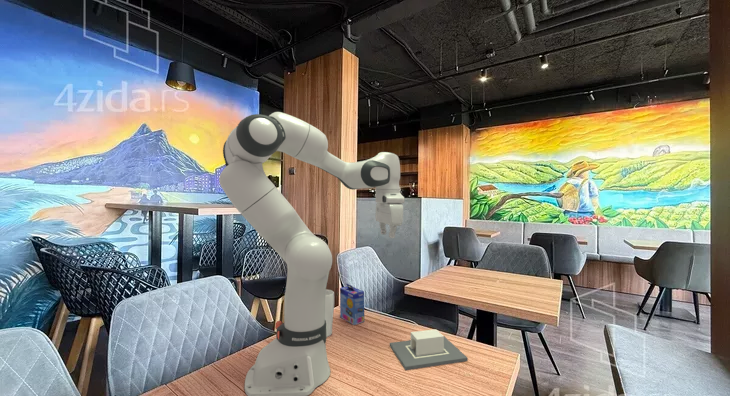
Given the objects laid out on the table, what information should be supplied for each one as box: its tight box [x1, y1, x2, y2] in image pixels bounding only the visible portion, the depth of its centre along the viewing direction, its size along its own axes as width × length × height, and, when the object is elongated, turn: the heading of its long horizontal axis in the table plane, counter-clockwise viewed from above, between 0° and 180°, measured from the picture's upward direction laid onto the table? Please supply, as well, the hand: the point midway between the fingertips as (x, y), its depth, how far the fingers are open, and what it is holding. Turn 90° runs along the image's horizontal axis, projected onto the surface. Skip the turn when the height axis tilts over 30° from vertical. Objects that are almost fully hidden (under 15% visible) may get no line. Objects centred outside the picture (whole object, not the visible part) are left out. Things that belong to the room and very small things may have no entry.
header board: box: [389, 336, 469, 371], centre depth 93 cm, size 20×14×4 cm
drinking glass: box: [325, 289, 335, 337], centre depth 105 cm, size 7×7×15 cm
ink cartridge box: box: [339, 283, 365, 326], centre depth 117 cm, size 10×6×14 cm, turn 40°
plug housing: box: [410, 329, 445, 356], centre depth 93 cm, size 9×5×5 cm, turn 104°
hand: (387, 236), depth 106 cm, fingers open, 8 cm apart
